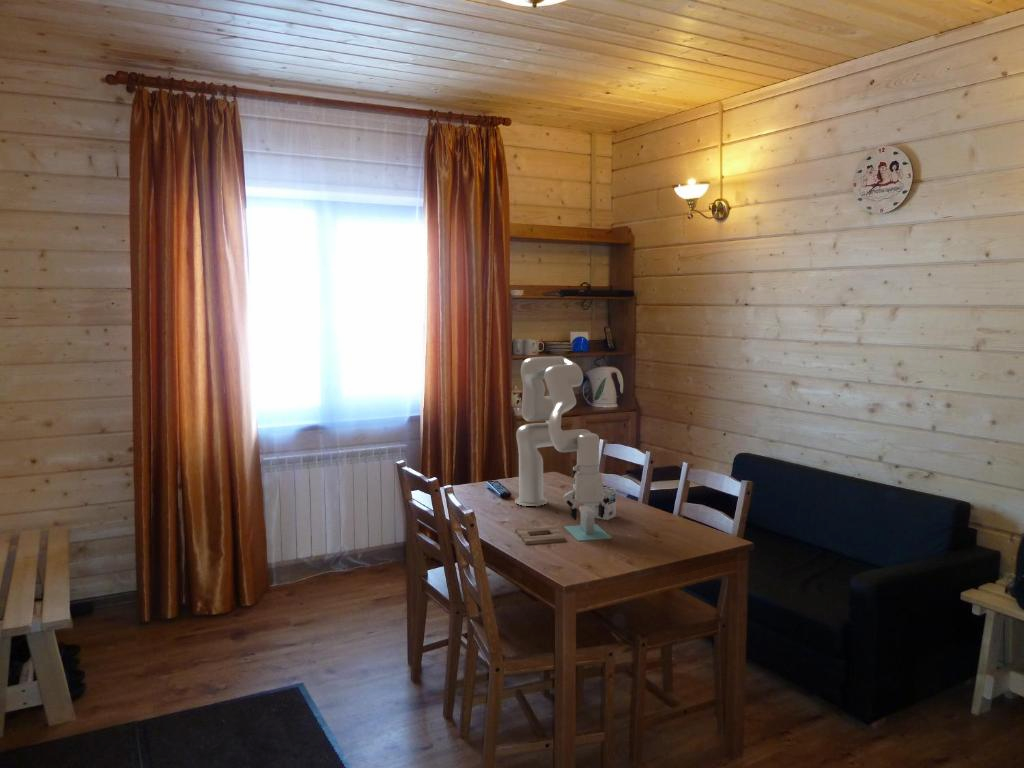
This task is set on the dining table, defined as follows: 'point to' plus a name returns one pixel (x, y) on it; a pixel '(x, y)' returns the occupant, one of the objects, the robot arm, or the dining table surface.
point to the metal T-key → (587, 520)
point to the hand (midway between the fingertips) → (587, 517)
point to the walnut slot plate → (553, 537)
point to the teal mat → (582, 536)
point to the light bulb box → (610, 506)
